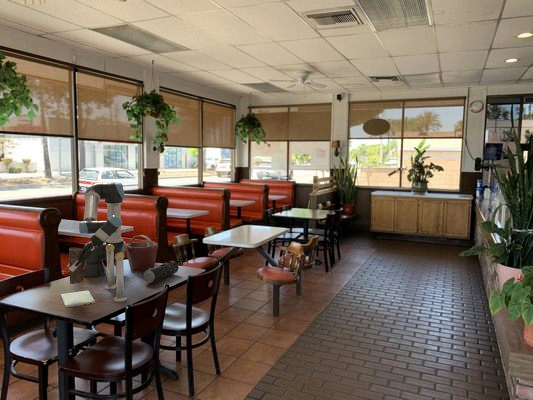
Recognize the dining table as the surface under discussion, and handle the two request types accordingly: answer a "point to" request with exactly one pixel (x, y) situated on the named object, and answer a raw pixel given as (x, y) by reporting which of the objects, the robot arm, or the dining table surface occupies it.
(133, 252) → the bucket
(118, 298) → the stanchion posts
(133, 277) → the dining table surface
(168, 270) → the muzzle brake
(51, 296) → the dining table surface
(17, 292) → the dining table surface
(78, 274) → the rusty metal cylinder
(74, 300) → the sage board
